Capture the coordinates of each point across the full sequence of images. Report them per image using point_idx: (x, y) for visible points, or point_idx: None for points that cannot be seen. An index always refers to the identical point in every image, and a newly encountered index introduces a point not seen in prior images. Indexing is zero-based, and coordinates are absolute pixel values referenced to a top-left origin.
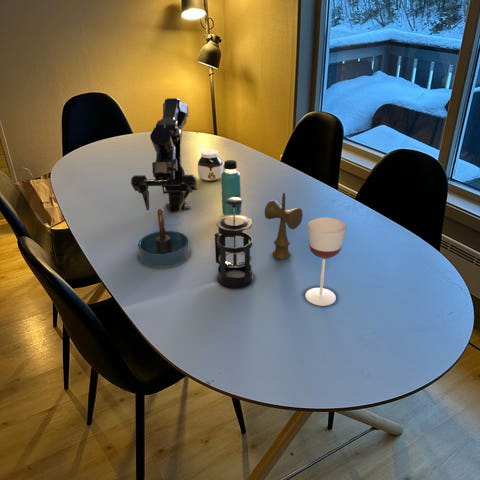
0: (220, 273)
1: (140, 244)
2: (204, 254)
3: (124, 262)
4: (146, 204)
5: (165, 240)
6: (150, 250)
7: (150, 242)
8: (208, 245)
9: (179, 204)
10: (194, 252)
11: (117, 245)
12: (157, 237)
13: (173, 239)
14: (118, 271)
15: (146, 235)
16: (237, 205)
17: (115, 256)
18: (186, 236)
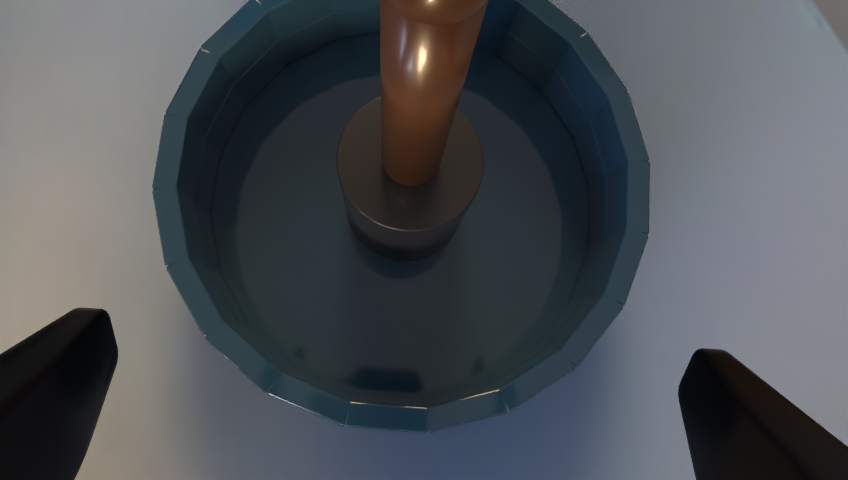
0: None
1: (623, 180)
2: (69, 183)
3: (696, 130)
4: (778, 406)
5: (380, 103)
6: (525, 258)
7: (542, 346)
8: (14, 334)
9: (37, 359)
10: (152, 223)
11: (821, 406)
12: (469, 174)
13: (328, 385)
14: (709, 19)
15: (595, 333)
16: None
17: (786, 224)
18: (171, 272)
